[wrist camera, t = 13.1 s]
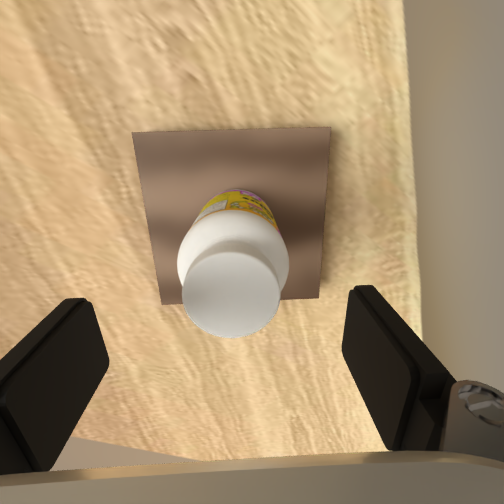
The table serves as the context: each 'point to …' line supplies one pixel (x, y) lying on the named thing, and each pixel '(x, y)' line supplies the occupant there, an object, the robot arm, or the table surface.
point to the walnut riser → (242, 178)
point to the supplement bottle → (233, 265)
